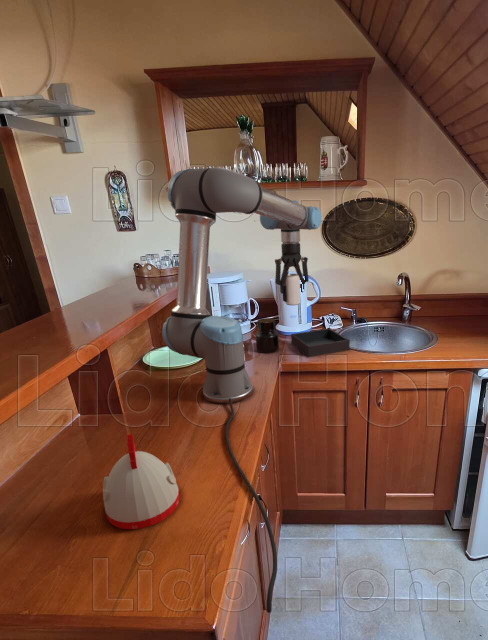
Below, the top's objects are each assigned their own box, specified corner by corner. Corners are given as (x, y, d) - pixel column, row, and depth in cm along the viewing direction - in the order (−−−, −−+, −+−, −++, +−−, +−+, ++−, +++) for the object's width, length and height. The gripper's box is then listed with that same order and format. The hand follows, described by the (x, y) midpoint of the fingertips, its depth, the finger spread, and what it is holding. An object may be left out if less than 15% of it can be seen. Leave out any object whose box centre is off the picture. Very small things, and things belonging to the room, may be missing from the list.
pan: (349, 349, 165) (349, 339, 163) (308, 356, 159) (308, 346, 157) (329, 337, 180) (329, 328, 178) (291, 343, 173) (291, 334, 172)
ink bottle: (283, 347, 169) (282, 318, 164) (272, 354, 162) (271, 324, 157) (263, 344, 173) (261, 316, 168) (251, 351, 166) (249, 322, 161)
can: (289, 301, 181) (287, 273, 176) (302, 302, 179) (302, 273, 174) (282, 305, 175) (281, 275, 170) (296, 306, 173) (296, 276, 168)
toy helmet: (175, 476, 92) (164, 416, 86) (184, 516, 81) (172, 450, 74) (107, 493, 88) (90, 430, 81) (105, 538, 76) (86, 469, 70)
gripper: (309, 240, 173) (310, 296, 183) (264, 243, 167) (268, 301, 176) (316, 241, 167) (317, 299, 177) (270, 245, 160) (273, 304, 170)
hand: (292, 300), depth 176 cm, fingers closed on can, 6 cm apart
